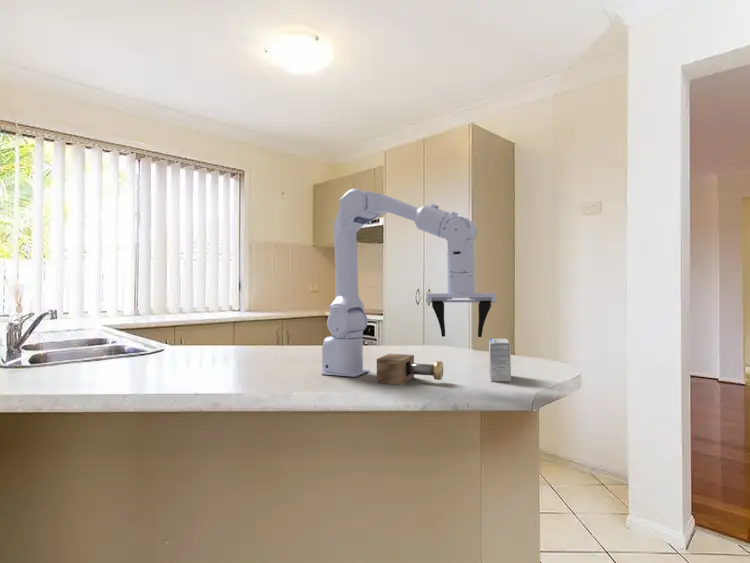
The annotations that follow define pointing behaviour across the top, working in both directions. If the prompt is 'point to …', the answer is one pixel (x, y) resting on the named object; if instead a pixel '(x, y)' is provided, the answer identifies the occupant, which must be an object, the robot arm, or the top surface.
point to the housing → (394, 369)
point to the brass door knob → (426, 369)
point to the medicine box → (499, 360)
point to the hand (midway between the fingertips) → (461, 336)
